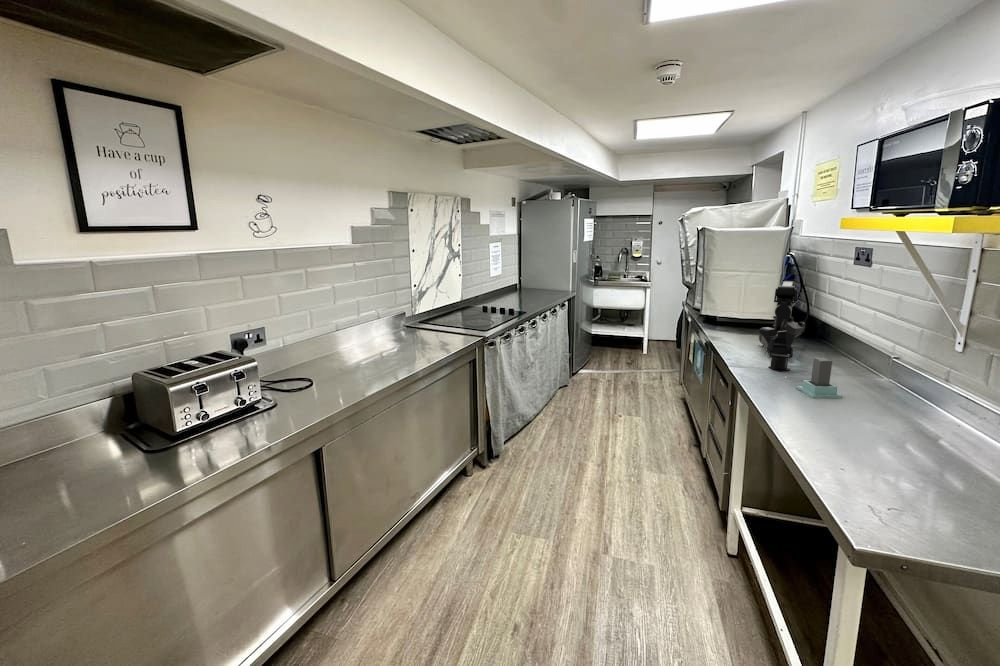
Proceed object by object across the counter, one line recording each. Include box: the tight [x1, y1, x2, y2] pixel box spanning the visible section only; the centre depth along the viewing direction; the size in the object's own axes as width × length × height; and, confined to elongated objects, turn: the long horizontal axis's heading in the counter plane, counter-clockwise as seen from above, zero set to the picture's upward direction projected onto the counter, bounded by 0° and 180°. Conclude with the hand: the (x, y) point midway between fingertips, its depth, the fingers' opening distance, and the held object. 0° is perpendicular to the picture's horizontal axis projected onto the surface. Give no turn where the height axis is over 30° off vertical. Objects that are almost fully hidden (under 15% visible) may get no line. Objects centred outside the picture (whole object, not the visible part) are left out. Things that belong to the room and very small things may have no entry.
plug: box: [810, 357, 833, 386], centre depth 179 cm, size 4×4×13 cm
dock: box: [796, 379, 843, 399], centre depth 181 cm, size 11×11×4 cm
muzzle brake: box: [758, 333, 778, 355], centre depth 239 cm, size 10×28×10 cm, turn 158°
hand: (779, 349), depth 198 cm, fingers open, 9 cm apart
